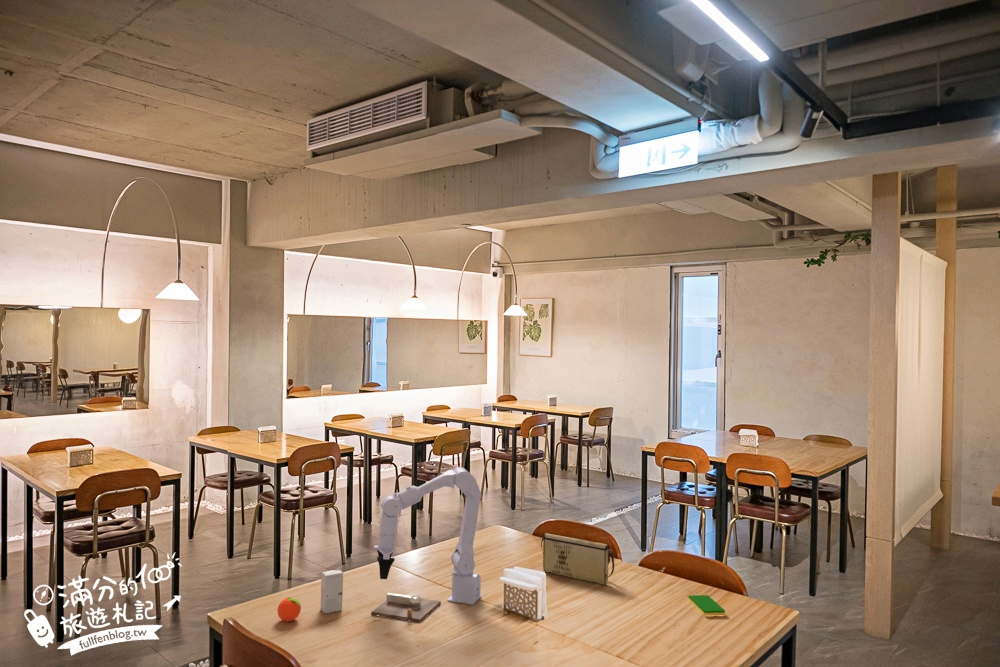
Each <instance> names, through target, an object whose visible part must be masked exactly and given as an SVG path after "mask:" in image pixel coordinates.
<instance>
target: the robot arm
mask: <svg viewBox="0 0 1000 667" xmlns="http://www.w3.org/2000/svg"><path fill="white" fill-rule="evenodd" d="M455 486H456V488H457V489H459V490H461V492H462V493H463V494H464V496H465V502H464V506H463V512H462V518H461V519H462V520H461V524H460V525H461V526H460V529H459V530H460V531H459V536H458V542H457V544H456V545H455V548H454V551H453V553H452V554H451V558H450V559H451V563H452V565H453V568H452V570H451V572H452V573H451V595H450V596H449V597H448V598H447V601H448V602H452V601H453V602H455V603H460V604H467V605H474V604H475V603H476V602H477V601H478V600H480V598H482V595H481V588H482V587H481V586H482V585H481V582H482V579H481V575H480V574H478V573H476V572H474V570H475V568H476V567H475V566H476V564H475V560H474V555H475V552H474V540H475V536H476V529H477V524H478V516H479V510H480V504H481V499H482V491H481V490H480V487H479V485H478V483H477V479H476V478H475V476H474V475H473V474H472V473H471V472H470V471H468V470H467V469H466V468H464V467H463V466H456V467H453V469H448V470H447V471H444V473H441V474H439V475H438V476H436V477H434V478H432V479H431V480H429V481H427V482H425V483H423V484H421V485H419V486H415V485H411V486H410V485H407V486H405V489H403V490H400V491H399V492H397V493H396V492H394V493H392V495H388V496H386V497H385V498H383V500H382V502H381V503H380V506H381V509H382V511H381V518H380V524H379V531H378V532H379V534H378V540H377V541H378V542H377V545H374V546H373V549H374V550H376V551H377V554H378V555H377V556H376V560H377V562H378V566H379V567H378V568H379V579H380V580H387V579H388V576H389V574H390V570H391V567H392V565H393V564H394V562H395V559H396V558H395V557H392V555H393V554H394V552H395V551H396V549H397V548H396V543H397V534H398V527H399V526H398V525H399V524H398V523H399V515H400V513H401V512H402V510H405V509H408V508H410V507H411V506H414V505H415V504H417V503H419V502H421V501H422V498H423V496H426V495H427V494H431V493H432V492H434V491H437V490H438V489H439V490H440V489H441V488H443V487H445V488H446V487H447V488H452V489H453V488H455ZM453 602H452V603H453Z"/></svg>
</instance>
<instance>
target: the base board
mask: <svg viewBox="0 0 1000 667" xmlns="http://www.w3.org/2000/svg"><path fill="white" fill-rule="evenodd" d="M440 605H441V600H435V599H429V598H423V597H421V605H420V606H419V607H411V606H410V605H406V604H399V603H392V602H387V599H386V600H385V601H384V602H382V603H381V604H380V605H378V606H377V607H376V608H374V609H373V610H372V611H371V612H370V615H371V616H376V615H379V616H378V617H382V616H383V617H384V618H388V617H391V618H390V619H394V618H398V619H397V620H400V619H403V620H402V621H407V620H410V621H409V622H413V621H416V622H415V623H419V622H420V623H422V621H424V620H425V617H426V616H427V615H428V614H429V615H430V614H431V613H433V612H434V611H435V610H436V609H437V608H438V607H439V606H440ZM437 606H438V607H437ZM436 607H437V608H436ZM435 608H436V609H435ZM434 609H435V610H434ZM429 615H428V616H429ZM428 616H427V617H428ZM383 617H382V618H383ZM427 617H426V618H427Z"/></svg>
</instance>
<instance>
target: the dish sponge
mask: <svg viewBox="0 0 1000 667" xmlns="http://www.w3.org/2000/svg"><path fill="white" fill-rule="evenodd" d="M687 597H688V600H689V601H690V602H691V603H692V604H693V605H694V606H695V607H696V608H697V609H698V610H699V611H700V612H701V613H702V614H703V615H705V616H706V615H725V616H726V610H725V609H724V608H723V607H722V606H721V605H720V604H718V603H717V602H716V601H715V600H714V599H713V598H712V597H711V596H710V595H708V594H704V595H703V594H702V595H701V594H699V595H688V596H687Z"/></svg>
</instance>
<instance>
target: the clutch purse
mask: <svg viewBox="0 0 1000 667" xmlns="http://www.w3.org/2000/svg"><path fill="white" fill-rule="evenodd" d="M540 547H541V548H542V549H541V550H542V553H543V560H542V561H543V562H542V563H543V565H542V566H543V568H542V569H543V572H544V571H545V572H544V573H549V572H551V573H550V574H553V573H555V574H554V575H558V574H560V575H559V576H562V575H564V576H563V577H567V576H568V577H567V578H571V577H572V579H576V578H577V579H576V580H580V581H585V580H586V582H590V583H594V582H596V583H595V584H600V585H603V584H604V586H607V585H608V583H609V577H611V576H612V575H613V573H614V570H615V559H614V555H613V552H612V549H611V547H610V545H609V544H606V543H602V542H595V541H590V540H585V539H581V538H575V537H568V536H563V535H557V534H551V533H547V532H543V534H542V538H541V542H540ZM610 562H612V563H611V565H612V568H611V573H610V574H609V564H610Z"/></svg>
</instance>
